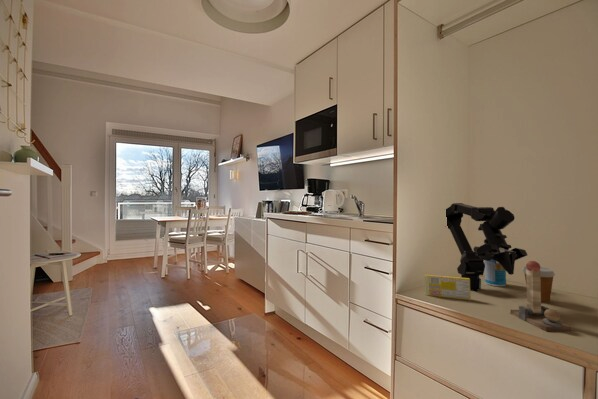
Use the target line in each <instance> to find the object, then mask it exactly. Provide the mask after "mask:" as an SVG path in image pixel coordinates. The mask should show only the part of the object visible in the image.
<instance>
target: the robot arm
mask: <svg viewBox="0 0 598 399" xmlns="http://www.w3.org/2000/svg"><path fill="white" fill-rule="evenodd" d="M464 215H466V216H469V217H470V219H472V220H473V221H474V222H483V223H480V224H479V226H478V228H477V230H478V231H482V233H483V235H484V237H485V239H483V243H484V244H482V245H480V246H474V247H472V246H471V244H470V242H469V240H468V237H467V236H466V234H465V232H464V230H463V227H462V226H461V224H462V221H463V220H462V218H464ZM446 217H447V226H448V228H447V229H448V230H449V231H450V233H451V235H452V238H453V239H454V241H455V244H456V246H457V248H458V250H459V253H460V260H459V262H460V264H459V265H458V267H457V268H456V269H457V273H458V274H459V275H461V277H460V278H470V291H473V292H474V291H475V292H478V291H479V290H481V288H482V279H481V278H480V276H484V274H485V262H484V260H487V261H490V260H491V259H493V260H495V261H497V262H499V264H500V265H501V266H502V267H503V268H504V269H505V270H506V273H508V275H514V274H515V262H516V261H517V260H520V259H522V258H525V257H527V256H528V252H527V250H526V249H523V248H519V247H514V248H512V245H511V244H508V242H507V240H506V239H507V238H508V236H507V235H506V234H503V232H502V230H503V229H505V228H507V226H509V225H510V224H511V223H512V222H514V221H515V214H514V213H512V212H511V211H510V210H508V209H506V208H505V207H504V206H498V207H497V208H496V209H495V208H494V207H491V206H489V207H488V206H486V207H484V206H480V207H479V206H478V207H477V206H473V205H469V204H466V203H463V202H454V203H452V204H450V206H449V207H447V208H446ZM472 248H473V249H472Z"/></svg>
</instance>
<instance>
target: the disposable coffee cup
mask: <svg viewBox="0 0 598 399" xmlns="http://www.w3.org/2000/svg"><path fill="white" fill-rule="evenodd" d="M522 272H523V274H524V280H525V286H526V287H527V280H526V266H524V268H523V269H522ZM555 275H556V273H555V272H554V270H553V269H552V268H549V267H548V268H547V267H541V266H540V280H541V304H542V303H544V304H545V303H550V301H551V295H552V289H553V288H552V287H553V281H554V277H555Z"/></svg>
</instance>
